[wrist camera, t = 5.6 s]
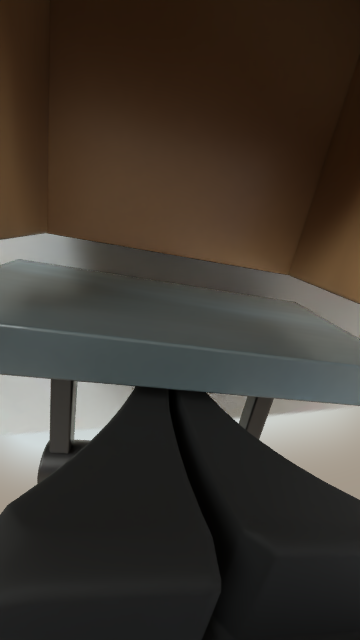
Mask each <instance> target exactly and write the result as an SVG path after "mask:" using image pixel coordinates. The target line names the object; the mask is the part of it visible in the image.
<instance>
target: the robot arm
mask: <svg viewBox="0 0 360 640" xmlns="http://www.w3.org/2000/svg"><path fill="white" fill-rule="evenodd" d="M0 640H360V500H359V499H357V498H355V497H353V496H351V495H349V494H347V493H345V492H343V491H341V490H339V489H337V488H336V487H334V486H332V485H330V484H328V483H326V482H324V481H322V480H321V479H319V478H317V477H315V476H314V475H312V474H310V473H309V472H307V471H305V470H304V469H302V468H300V467H299V466H297V465H295V464H293V463H292V462H290V461H289V460H287V459H286V458H284V457H283V456H281V455H280V454H278V453H277V452H275V451H273V450H272V449H271V448H270V447H268V446H267V445H265V444H264V443H262V442H261V441H260V440H258V439H257V438H256V437H254V436H253V435H252V434H250V433H249V432H248V431H247V430H246V429H244V428H243V427H242V426H241V425H239V424H238V423H237V422H236V421H235V420H233V419H232V418H231V417H230V416H229V415H228V414H227V413H226V412H225V411H224V410H223V409H222V408H221V407H220V406H219V405H218V404H217V403H216V402H215V401H214V400H213V399H212V398H211V397H210V396H209V395H208V394H207V393H206V392H196V391H185V390H173V389H162V388H150V387H139V386H136V387H135V388H134V390H133V392H132V393H131V395H130V396H129V397H128V399H127V400H126V402H125V403H124V405H123V406H122V407H121V409H120V410H119V411H118V412H117V414H116V415H115V416H114V417H113V418H112V419H111V421H110V422H109V423H108V424H107V425H106V426H105V427H104V428H103V429H102V430H101V431H100V432H99V434H97V435H96V436H95V437H94V438H93V439H92V440H91V441H90V442H89V443H88V444H87V445H86V446H85V447H84V448H82V449H81V450H80V451H79V452H78V453H76V454H75V455H74V456H73V457H72V458H71V459H69V460H68V461H67V462H66V463H65V464H63V465H62V466H61V467H60V468H59V469H57V470H56V471H55V472H53V473H52V474H51V475H50V476H48V477H47V478H45V479H44V480H43V481H41V482H40V483H38V484H37V485H36V486H34V487H33V488H31V489H30V490H28V491H27V492H26V493H24V494H23V495H21V496H20V497H19V498H17V499H16V500H14V501H13V502H11V503H10V504H9V505H7V507H6V508H5V509H4V511H3V512H2V513H1V515H0Z"/></svg>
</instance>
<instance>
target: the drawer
mask: <svg viewBox="0 0 360 640" xmlns="http://www.w3.org/2000/svg"><path fill="white" fill-rule="evenodd" d="M43 233H49V234H54V235H60V236H66V237H72V238H77V239H83V240H89V241H95V242H100V243H106V244H112V245H118V246H124V247H129V248H135V249H141V250H147V251H152V252H158V253H164V254H170V255H175V256H181V257H187V258H193V259H198V260H204V261H210V262H216V263H221V264H227V265H233V266H239V267H244V268H250V269H256V270H262V271H268V272H273V273H279V274H285V275H290V276H292V277H294V278H297V279H299V280H302V281H304V282H307V283H309V284H312V285H314V286H316V287H319V288H321V289H324V290H326V291H329V292H331V293H334V294H336V295H339V296H341V297H343V298H346V299H348V300H351V301H353V302H356V303H358V304H360V0H0V240H2V239H9V238H16V237H23V236H29V235H36V234H43ZM0 374H2V375H13V376H25V377H36V378H47V379H51V400H50V440H49V442H48V443H47V445H46V447H45V449H44V452H43V455H42V458H41V461H40V466H39V470H38V480H37V481H38V483H40V482H41V481H43V480H44V479H45V478H47V477H48V476H50V475H51V474H52V473H53V472H55V471H56V470H57V469H59V468H60V467H61V466H62V465H63V464H65V463H66V462H67V461H68V460H69V459H71V458H72V457H73V456H74V455H75V454H76V453H78V452H79V451H80V450H81V449H82V448H84V447H85V446H86V445H87V444H88V443H89V442H90V441H89V440H74V430H75V413H76V396H77V381H82V382H93V383H105V384H116V385H127V386H139V387H150V388H162V389H173V390H185V391H196V392H208V393H219V394H230V395H242V396H247V400H246V403H245V406H244V409H243V412H242V415H241V418H240V421H239V425H241V426H242V427H243V428H244V429H246V430H247V431H248V432H249V433H250V434H252V435H253V436H254V437H256V438H257V439H258V440H259V438H260V435H261V432H262V430H263V427H264V424H265V421H266V418H267V416H268V413H269V410H270V407H271V405H272V402H273V399H274V398H276V399H288V400H299V401H311V402H322V403H333V404H345V405H356V406H360V339H359V338H357V337H355V336H354V335H352V334H350V333H348V332H347V331H345V330H343V329H341V328H340V327H338V326H336V325H334V324H333V323H331V322H329V321H327V320H326V319H324V318H322V317H320V316H319V315H317V314H315V313H313V312H312V311H310V310H308V309H306V308H305V307H303V306H301V305H300V304H298V303H296V302H291V301H285V300H278V299H272V298H265V297H259V296H252V295H246V294H240V293H233V292H227V291H220V290H214V289H207V288H201V287H195V286H188V285H182V284H175V283H169V282H162V281H156V280H150V279H143V278H137V277H130V276H124V275H117V274H111V273H105V272H98V271H92V270H85V269H79V268H72V267H66V266H60V265H53V264H47V263H40V262H34V261H27V260H21V259H18V260H15V261H12V262H8V263H5V264H2V265H0Z"/></svg>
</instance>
